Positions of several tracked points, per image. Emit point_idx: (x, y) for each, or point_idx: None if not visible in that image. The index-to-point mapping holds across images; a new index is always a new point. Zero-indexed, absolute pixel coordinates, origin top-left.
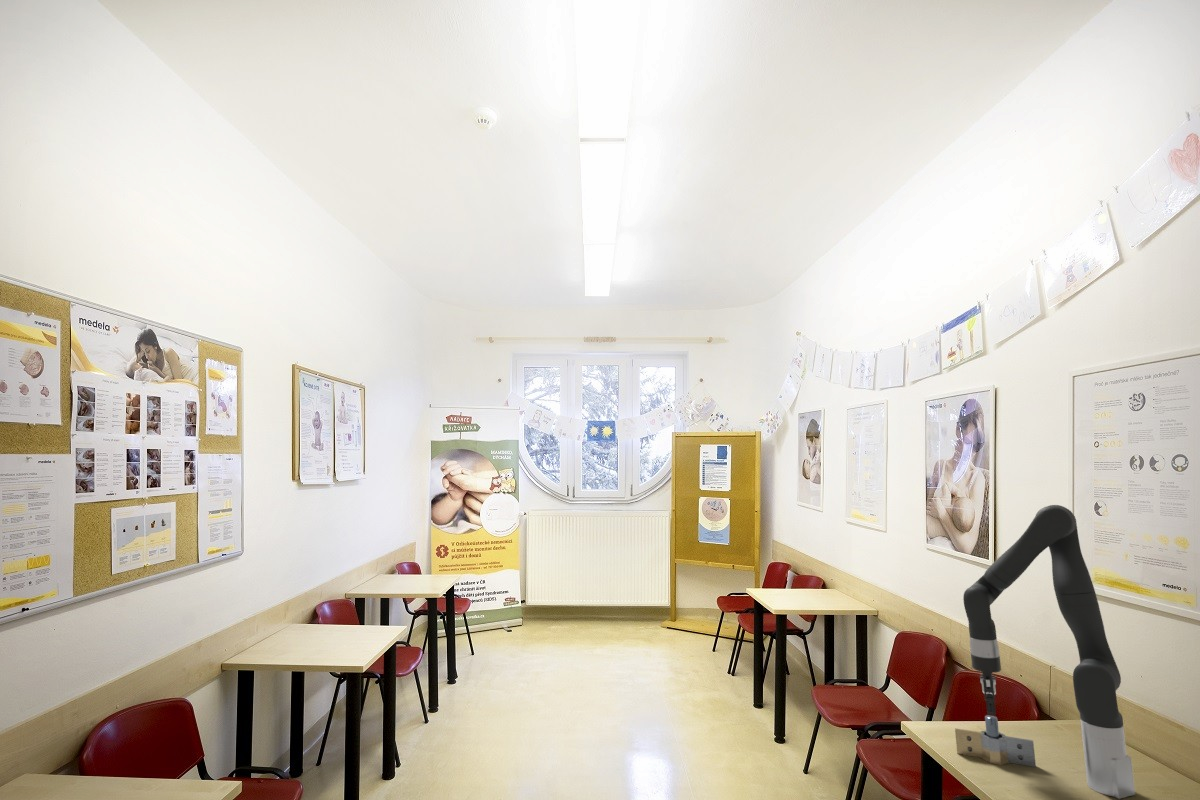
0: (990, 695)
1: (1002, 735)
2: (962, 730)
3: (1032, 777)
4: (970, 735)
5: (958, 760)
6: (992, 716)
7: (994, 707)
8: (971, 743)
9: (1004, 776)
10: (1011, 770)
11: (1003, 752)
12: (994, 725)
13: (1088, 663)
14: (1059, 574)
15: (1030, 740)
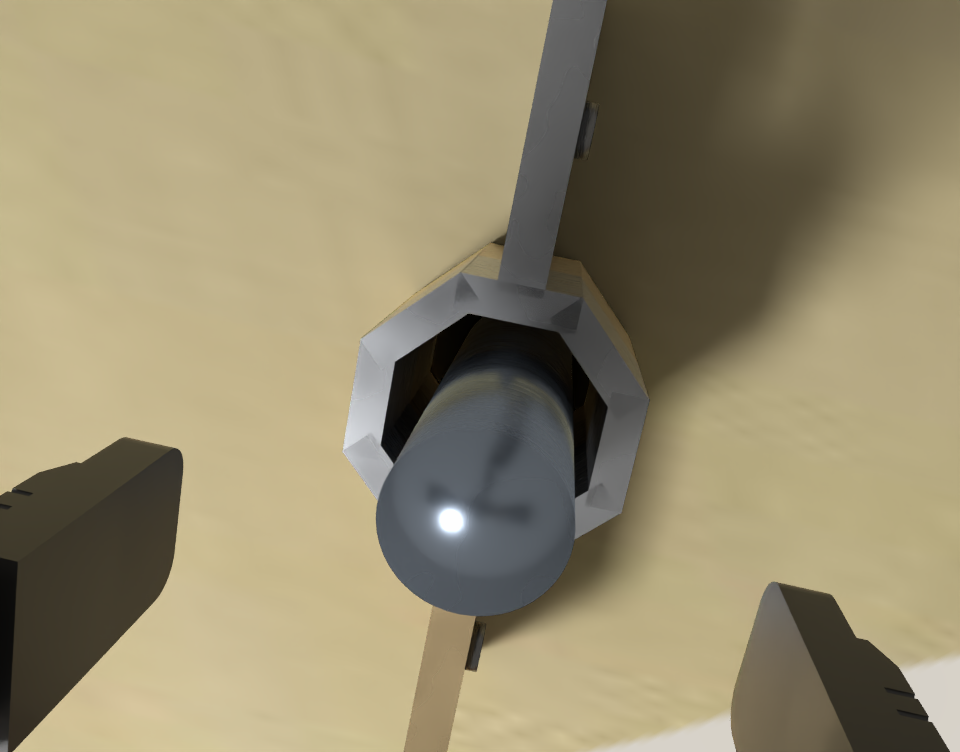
0: (65, 601)
1: (485, 312)
2: (440, 745)
3: (848, 102)
4: (470, 649)
5: (595, 673)
6: (419, 489)
7: (878, 695)
8: None
9: (871, 366)
10: (719, 265)
11: (608, 318)
12: (572, 470)
13: None
14: None
15: None
